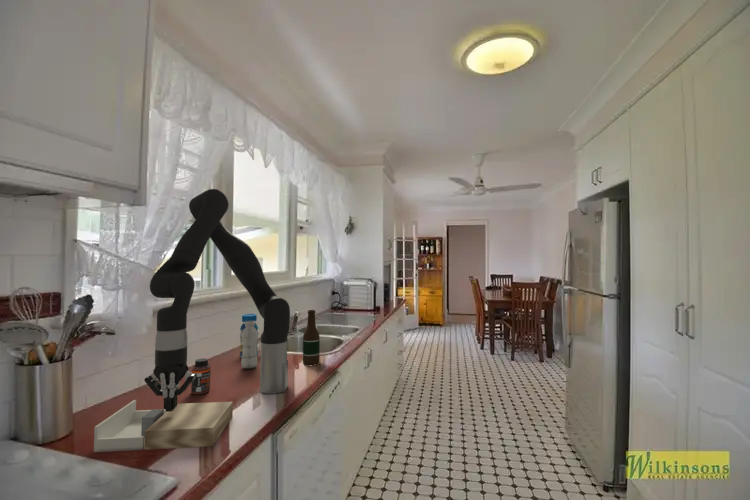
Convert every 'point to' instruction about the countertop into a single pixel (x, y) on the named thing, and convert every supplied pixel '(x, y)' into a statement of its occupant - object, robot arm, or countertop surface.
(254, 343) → the plastic bottle
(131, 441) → the box
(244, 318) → the beverage bottle
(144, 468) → the countertop surface
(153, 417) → the grey block
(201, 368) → the supplement bottle
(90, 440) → the countertop surface
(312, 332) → the beer bottle
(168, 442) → the board
